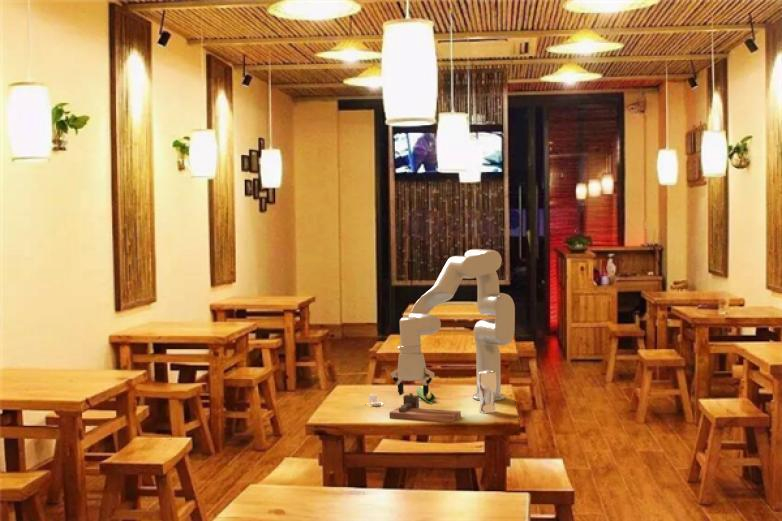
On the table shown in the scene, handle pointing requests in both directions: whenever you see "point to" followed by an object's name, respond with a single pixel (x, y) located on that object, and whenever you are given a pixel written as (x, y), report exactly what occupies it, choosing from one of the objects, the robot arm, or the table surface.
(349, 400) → the table surface
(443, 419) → the board
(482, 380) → the beer glass
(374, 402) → the teacup and saucer
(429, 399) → the edible corn
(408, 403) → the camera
